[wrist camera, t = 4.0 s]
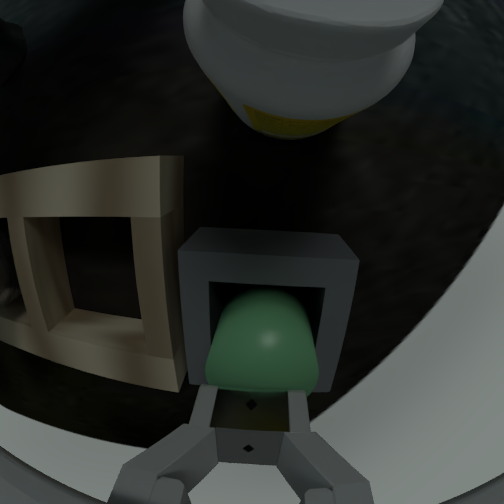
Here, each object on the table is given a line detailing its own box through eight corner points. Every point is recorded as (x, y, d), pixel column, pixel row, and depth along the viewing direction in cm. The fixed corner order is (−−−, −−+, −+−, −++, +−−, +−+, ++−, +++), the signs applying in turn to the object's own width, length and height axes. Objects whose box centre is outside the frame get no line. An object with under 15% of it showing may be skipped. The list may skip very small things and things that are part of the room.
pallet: (183, 155, 12) (159, 155, 10) (191, 357, 16) (178, 392, 13) (-21, 180, 13) (-50, 187, 10) (4, 314, 17) (-18, 331, 14)
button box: (338, 234, 13) (359, 260, 10) (320, 347, 15) (329, 391, 12) (200, 226, 13) (177, 250, 10) (204, 341, 15) (189, 383, 12)
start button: (314, 288, 11) (328, 333, 8) (303, 362, 12) (309, 413, 9) (219, 283, 11) (202, 326, 8) (220, 357, 12) (208, 407, 9)
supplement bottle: (370, 88, 11) (520, 7, 2) (289, 165, 12) (346, 187, 3) (283, 13, 10) (294, -145, 1) (201, 86, 11) (69, -23, 2)
